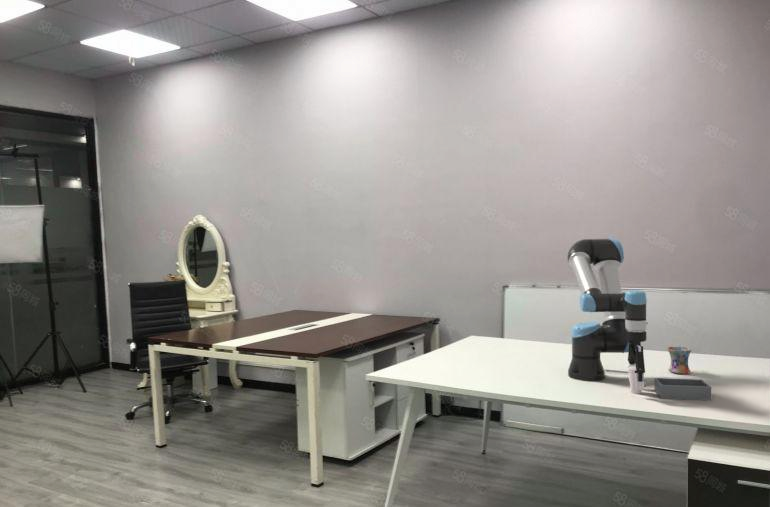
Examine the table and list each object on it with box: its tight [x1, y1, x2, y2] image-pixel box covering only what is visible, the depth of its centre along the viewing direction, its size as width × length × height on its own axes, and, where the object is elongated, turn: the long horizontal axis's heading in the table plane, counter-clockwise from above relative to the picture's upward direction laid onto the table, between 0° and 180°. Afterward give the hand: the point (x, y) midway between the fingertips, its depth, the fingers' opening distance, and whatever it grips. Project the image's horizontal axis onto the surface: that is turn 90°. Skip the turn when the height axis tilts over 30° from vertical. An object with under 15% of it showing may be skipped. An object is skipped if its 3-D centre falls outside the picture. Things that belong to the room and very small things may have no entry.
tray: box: [653, 377, 712, 401], centre depth 213 cm, size 17×10×5 cm, turn 77°
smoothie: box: [626, 364, 643, 395], centre depth 218 cm, size 6×6×14 cm
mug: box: [667, 346, 692, 375], centre depth 246 cm, size 12×9×11 cm
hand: (636, 385), depth 218 cm, fingers open, 12 cm apart
